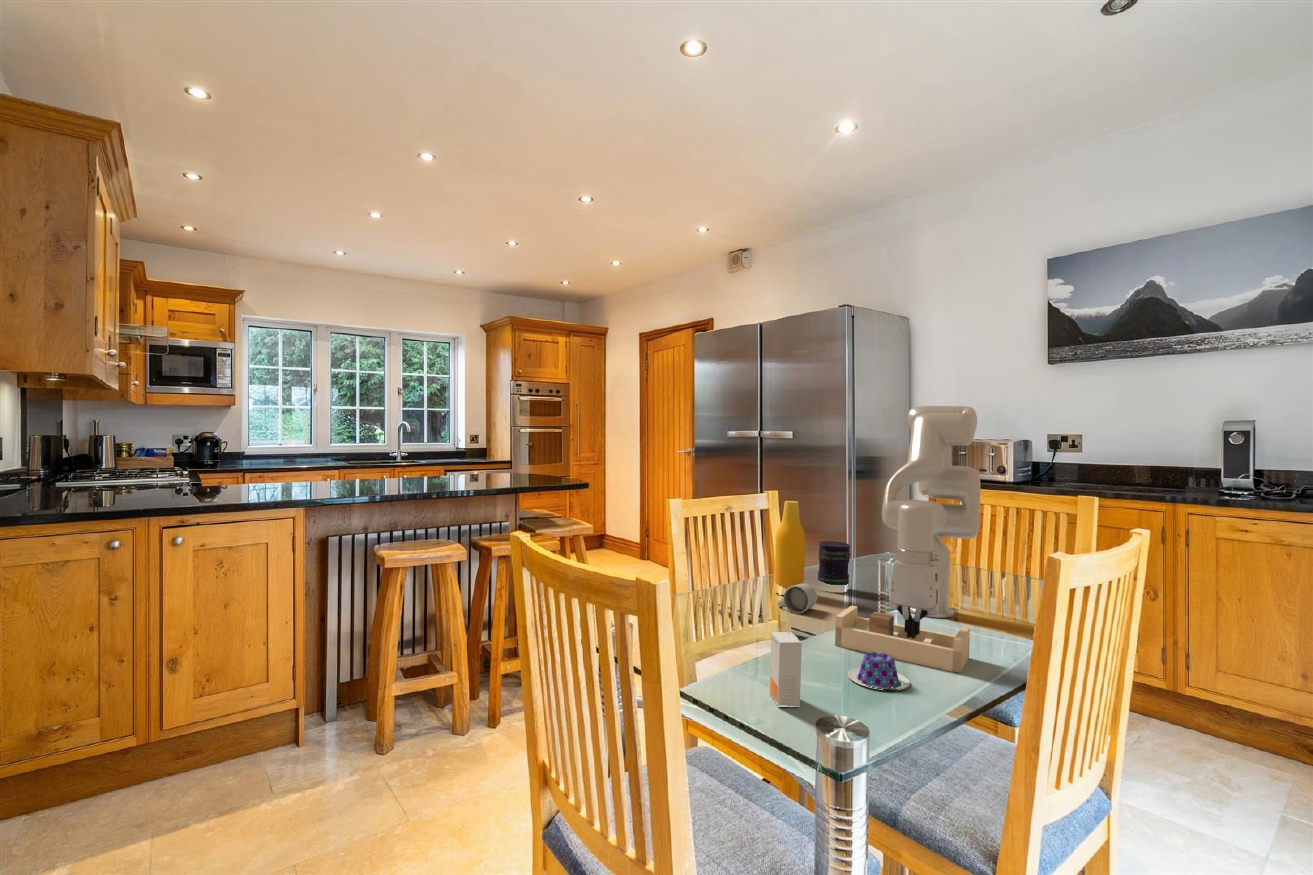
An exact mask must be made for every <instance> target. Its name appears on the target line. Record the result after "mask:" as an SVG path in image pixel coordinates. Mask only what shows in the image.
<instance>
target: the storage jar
mask: <svg viewBox="0 0 1313 875" xmlns="http://www.w3.org/2000/svg"><path fill="white" fill-rule="evenodd" d="M818 546H819V547H818V560H819V561H818V562H819V563H818V565H819V566H818V571H817V581H818V580H819V581H821V582H824V583H826V584H830V585H847V584H848V585H849V584H850V574H849V563H850V557H851V553H850V548H851V547H850V546H851V544H849V543H846V542H841V541H833V540H831V541H830V540H829V541H826V540H825V541H820V542H819V543H818Z"/></svg>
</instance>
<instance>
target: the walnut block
mask: <svg viewBox="0 0 1313 875" xmlns="http://www.w3.org/2000/svg"><path fill="white" fill-rule="evenodd" d="M868 619H869V632H874V633H879V634H884V635H889V636H892V635H893V634H894V624H895V615H894V614H890V613H884V612H878V611H874V612H873V613H871V614H870V615H869V617H868Z"/></svg>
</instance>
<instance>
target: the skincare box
mask: <svg viewBox="0 0 1313 875" xmlns="http://www.w3.org/2000/svg"><path fill="white" fill-rule="evenodd" d="M770 634H771V636H770V638H771V639H770V666H769V667H770V668H769V669H770V670H769V695H770V694H771V695H772V696H771V695H770V696H771V698H772V697H773V698H774V699H775V701H776V702H777V703H778V705H787V706H800V707H801V681H802V680H801V679H802V678H801V677H802V646H803V645H802V644H803V643H802V642H801V641H800V640H799V638H798V637H797V636H796V635H795V634H794V633H793V632H791V631H789V632H788V631H785V632H784V631H772V632H771V633H770ZM773 698H772V699H773ZM775 701H774V702H775Z"/></svg>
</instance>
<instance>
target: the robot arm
mask: <svg viewBox="0 0 1313 875" xmlns="http://www.w3.org/2000/svg"><path fill="white" fill-rule="evenodd" d="M907 423H908V426H909V429H910V439H909V450H908V456H907V462H906V463H905V464H904V465H902V466H901V467H900V468H898V470H896V471H895V473H894V474H893V475H892V476H891V477H890V478H889V480H888V482H886V486H885V490H884V494H883V501H882V509H881V518H882V521H883V524H884V525H885V526H886V527H887V528H889V529H893V530H897V543H896V544H897V546H896V547H897V548H896V550H897V552H896V559H894V560H893V563H892V564H893V565H892V568H891V574H890V581H889V589H888V590H889V591H888V599H889V601H888V604H887V605H888V607H889V608H891V609H893V610H896V611H898V612H899V614H900V615H901V616H902V618H903V619H904V626H905V632H906V633H907V637H908V638H910V637H911V638H913V639H915V637H916V636H917V635H919V633H920V629H921V628H920V627H921V620H923V619H924V618H926V617H929V618H937V619H938V618H939V619H940V618H941V619H942V618H943V619H945V618H946V619H947V618H951V617H954V616H955V610H954V609H953V608H951V607H949V603H950V602H949V601H950V579H951V578H950V576H951V575H950V573H951V552H950V549H949V547H948V546H947V544H946V543H945V541H944V540H943V539H942V538H954V539H955V538H956V539H965V540H968V539H969V540H971V539H975V538H976V537H977V536H978V535H979V532H980V526H981V525H980V524H981V479H980V474H979V472H978V470H977V469H975V468H973V467H971V466H965V465H953V464H952V447H954V446H955V447H956V446H957V447H958V446H959V447H965V446H969V445H970V444H972V442H973V441H974V437H975V434H976V432H977V426H978V416H977V412H976V410H975V409H974V408H973V407H971V406H968V405H967V406H965V405H962V406H961V405H958V406H957V405H922V406H916V407H912V408H910V409H909V411H908V413H907ZM951 446H952V447H951ZM913 484H918V490H919V493H920V494H921V495H922V496H924V497H926V498H931V499H943V500H955V501H956V500H957V501H960V503H961V504H958V503H946V502H937V501H932V500H920V499H910V498H909V499H908V498H898V494H899V493H900V492H901V491H902V490H903V489H905V488H907V487H908V486H911V485H913ZM912 613H913V614H914V616H913V615H912Z"/></svg>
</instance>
